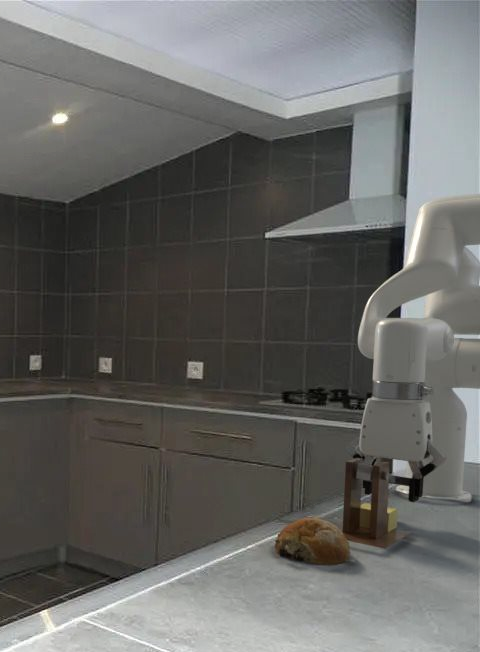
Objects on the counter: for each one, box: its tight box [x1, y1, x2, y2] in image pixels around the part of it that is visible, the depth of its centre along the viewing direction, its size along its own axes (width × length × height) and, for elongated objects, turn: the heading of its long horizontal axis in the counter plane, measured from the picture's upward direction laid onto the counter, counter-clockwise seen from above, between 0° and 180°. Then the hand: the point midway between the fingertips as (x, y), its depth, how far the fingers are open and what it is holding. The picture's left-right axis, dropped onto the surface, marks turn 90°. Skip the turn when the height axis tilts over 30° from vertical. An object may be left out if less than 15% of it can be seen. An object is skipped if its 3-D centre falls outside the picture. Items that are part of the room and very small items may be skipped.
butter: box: [359, 502, 399, 532], centre depth 118 cm, size 4×5×3 cm
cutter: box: [334, 458, 412, 550], centre depth 115 cm, size 12×10×13 cm
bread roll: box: [274, 517, 352, 566], centre depth 105 cm, size 10×10×8 cm
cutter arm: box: [356, 464, 410, 486], centre depth 118 cm, size 15×6×2 cm, turn 132°
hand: (391, 495), depth 122 cm, fingers closed on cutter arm, 6 cm apart
